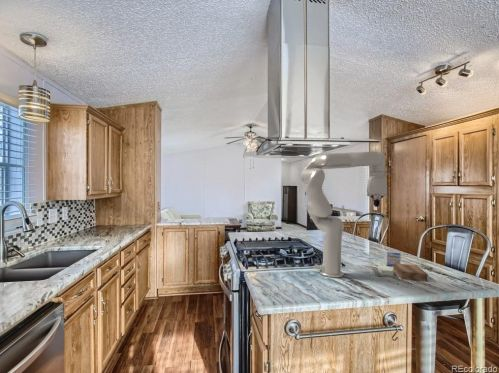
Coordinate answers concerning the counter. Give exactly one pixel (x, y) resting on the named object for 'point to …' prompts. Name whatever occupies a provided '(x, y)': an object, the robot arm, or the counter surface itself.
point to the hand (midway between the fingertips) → (376, 206)
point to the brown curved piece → (410, 272)
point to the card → (385, 270)
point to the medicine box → (392, 258)
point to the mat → (383, 275)
